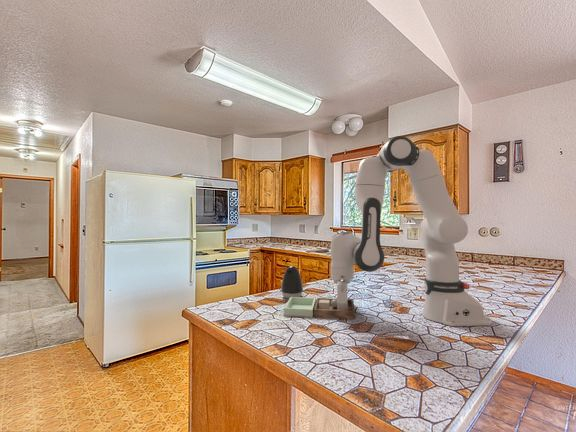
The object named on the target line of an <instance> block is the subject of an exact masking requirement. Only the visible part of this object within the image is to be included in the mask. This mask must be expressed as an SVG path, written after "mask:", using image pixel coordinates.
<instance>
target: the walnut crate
mask: <svg viewBox="0 0 576 432" xmlns="http://www.w3.org/2000/svg"><path fill="white" fill-rule="evenodd" d="M333 299H334V298H329V297H328V298H327V297H316V304H315V308H314V314H313V317H314V318H326V319H342V320H343V319H346V320H347V319H348V320H356V311H355V310H356V309H355V303H354V302H355V301H354V299H353V298H348V311H346V310H337V307H336V308H334V307H332V306H331V301H332V300H333ZM319 300H330V310H324V309H319Z"/></svg>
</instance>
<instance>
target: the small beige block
mask: <svg viewBox="0 0 576 432" xmlns="http://www.w3.org/2000/svg"><path fill="white" fill-rule="evenodd" d="M337 310H340V304H338V303H337ZM345 310H346V311H348V302H347V304H345Z"/></svg>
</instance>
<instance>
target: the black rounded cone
mask: <svg viewBox="0 0 576 432" xmlns="http://www.w3.org/2000/svg"><path fill="white" fill-rule="evenodd" d="M303 285H304V284H303V279H302V277H301V274H300V272H299V269H298V268H297V267H296V266H294V265H289V266H288V267H287V268H286V269H285V271H284V274H283V277H282V281H281V287H280V290H281V294H282V296H283V298H285V299H288V300H289V299H290V297H301V296H302V294H303V291H304V286H303Z"/></svg>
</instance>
